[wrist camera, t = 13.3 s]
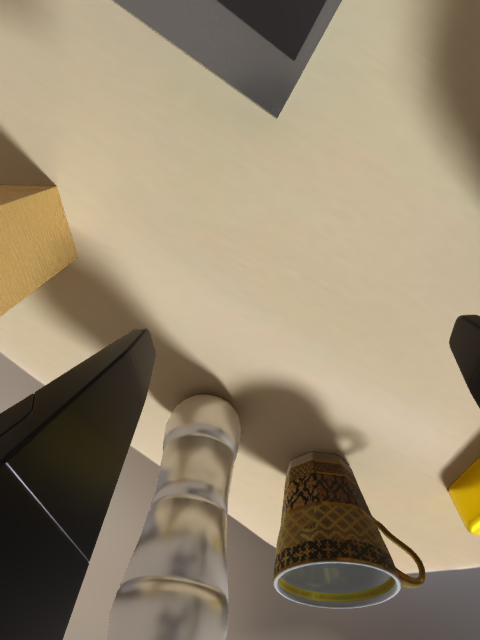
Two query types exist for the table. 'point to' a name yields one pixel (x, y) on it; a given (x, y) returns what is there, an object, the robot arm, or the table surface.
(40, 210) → the tan rectangular block
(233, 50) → the grey slotted base
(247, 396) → the table surface
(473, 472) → the yellow flat box
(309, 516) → the ceramic cup
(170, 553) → the plastic bottle
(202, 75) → the table surface
